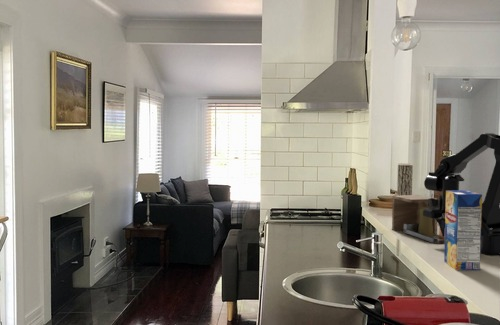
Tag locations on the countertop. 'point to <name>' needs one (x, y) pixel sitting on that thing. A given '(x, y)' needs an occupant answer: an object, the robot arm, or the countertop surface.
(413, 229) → the grey brown long block
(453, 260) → the beverage box
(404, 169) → the bark textured block
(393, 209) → the spice cubby
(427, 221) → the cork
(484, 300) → the countertop surface
